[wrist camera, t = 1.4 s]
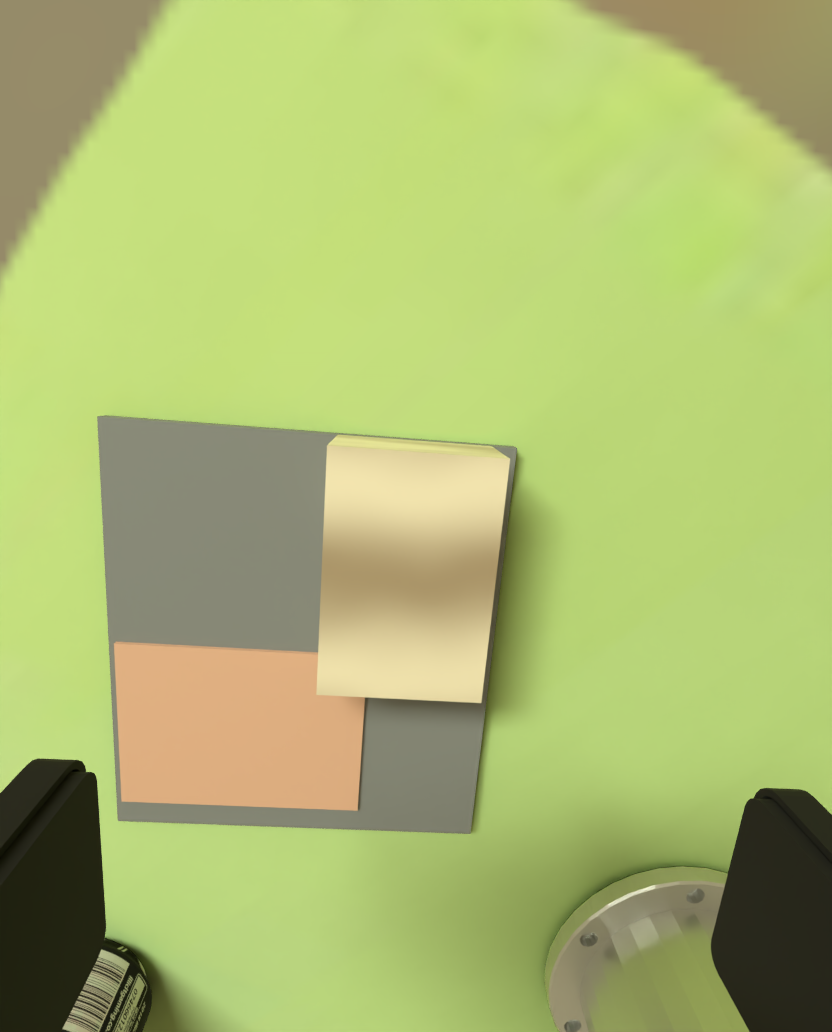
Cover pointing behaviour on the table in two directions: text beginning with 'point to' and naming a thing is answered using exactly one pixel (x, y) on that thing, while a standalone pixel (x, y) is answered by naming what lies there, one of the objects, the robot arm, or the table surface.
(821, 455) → the table surface
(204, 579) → the rubber mat
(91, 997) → the beverage can
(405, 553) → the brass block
